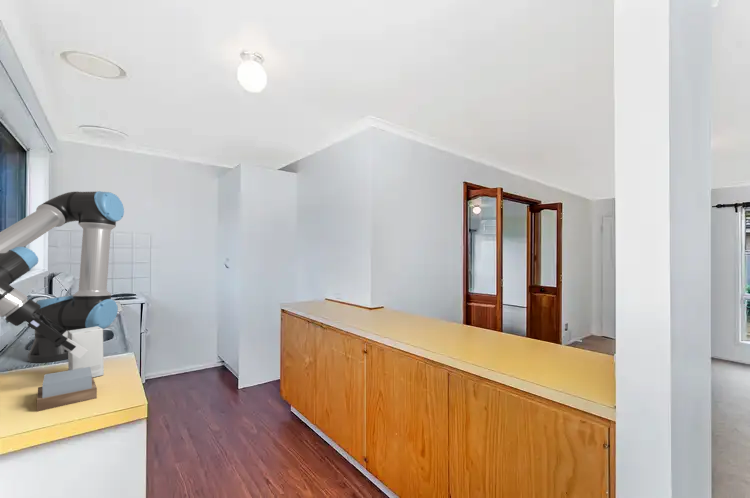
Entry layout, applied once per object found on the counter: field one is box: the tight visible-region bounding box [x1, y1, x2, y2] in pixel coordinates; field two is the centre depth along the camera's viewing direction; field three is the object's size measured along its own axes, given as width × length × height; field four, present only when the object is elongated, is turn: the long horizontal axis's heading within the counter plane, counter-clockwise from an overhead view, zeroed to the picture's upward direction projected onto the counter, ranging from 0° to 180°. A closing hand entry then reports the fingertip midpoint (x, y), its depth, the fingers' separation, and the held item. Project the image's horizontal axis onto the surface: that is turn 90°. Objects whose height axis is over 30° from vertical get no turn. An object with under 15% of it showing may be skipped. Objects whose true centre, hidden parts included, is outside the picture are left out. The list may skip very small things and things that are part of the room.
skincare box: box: [67, 326, 105, 378], centre depth 114 cm, size 8×7×16 cm
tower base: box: [36, 377, 98, 413], centre depth 98 cm, size 12×12×4 cm
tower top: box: [42, 367, 92, 398], centre depth 98 cm, size 10×10×4 cm
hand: (82, 349), depth 113 cm, fingers open, 13 cm apart
